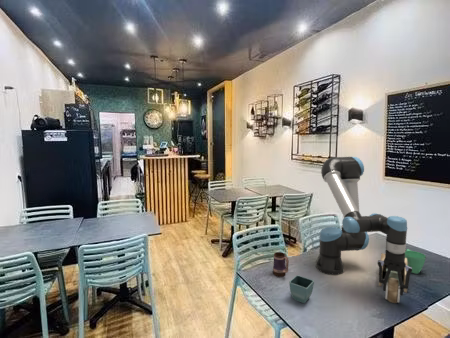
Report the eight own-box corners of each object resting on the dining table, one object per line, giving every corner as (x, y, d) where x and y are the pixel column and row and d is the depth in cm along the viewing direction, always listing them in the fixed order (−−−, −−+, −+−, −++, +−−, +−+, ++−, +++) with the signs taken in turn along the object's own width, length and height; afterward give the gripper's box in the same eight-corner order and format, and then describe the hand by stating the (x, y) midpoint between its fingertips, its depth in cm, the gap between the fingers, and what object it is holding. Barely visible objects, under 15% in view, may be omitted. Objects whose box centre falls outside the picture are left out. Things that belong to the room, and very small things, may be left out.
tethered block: (384, 300, 123) (385, 280, 122) (386, 276, 144) (387, 259, 143) (399, 304, 120) (401, 283, 118) (399, 279, 140) (400, 261, 139)
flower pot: (296, 291, 131) (296, 274, 130) (314, 298, 125) (314, 280, 124) (288, 300, 124) (288, 282, 123) (306, 307, 119) (307, 288, 118)
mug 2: (428, 276, 143) (429, 259, 142) (408, 275, 145) (409, 257, 144) (414, 264, 158) (415, 247, 156) (396, 262, 160) (397, 246, 158)
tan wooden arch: (378, 285, 135) (379, 267, 134) (380, 269, 151) (381, 253, 150) (406, 292, 129) (408, 273, 128) (405, 275, 145) (406, 257, 144)
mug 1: (270, 272, 150) (270, 252, 148) (280, 269, 153) (280, 249, 151) (281, 281, 141) (282, 259, 139) (292, 278, 144) (292, 256, 142)
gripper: (373, 249, 122) (370, 297, 124) (419, 258, 112) (415, 309, 115) (374, 244, 128) (371, 289, 131) (417, 252, 119) (414, 300, 121)
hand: (392, 299), depth 123 cm, fingers closed on tethered block, 4 cm apart
